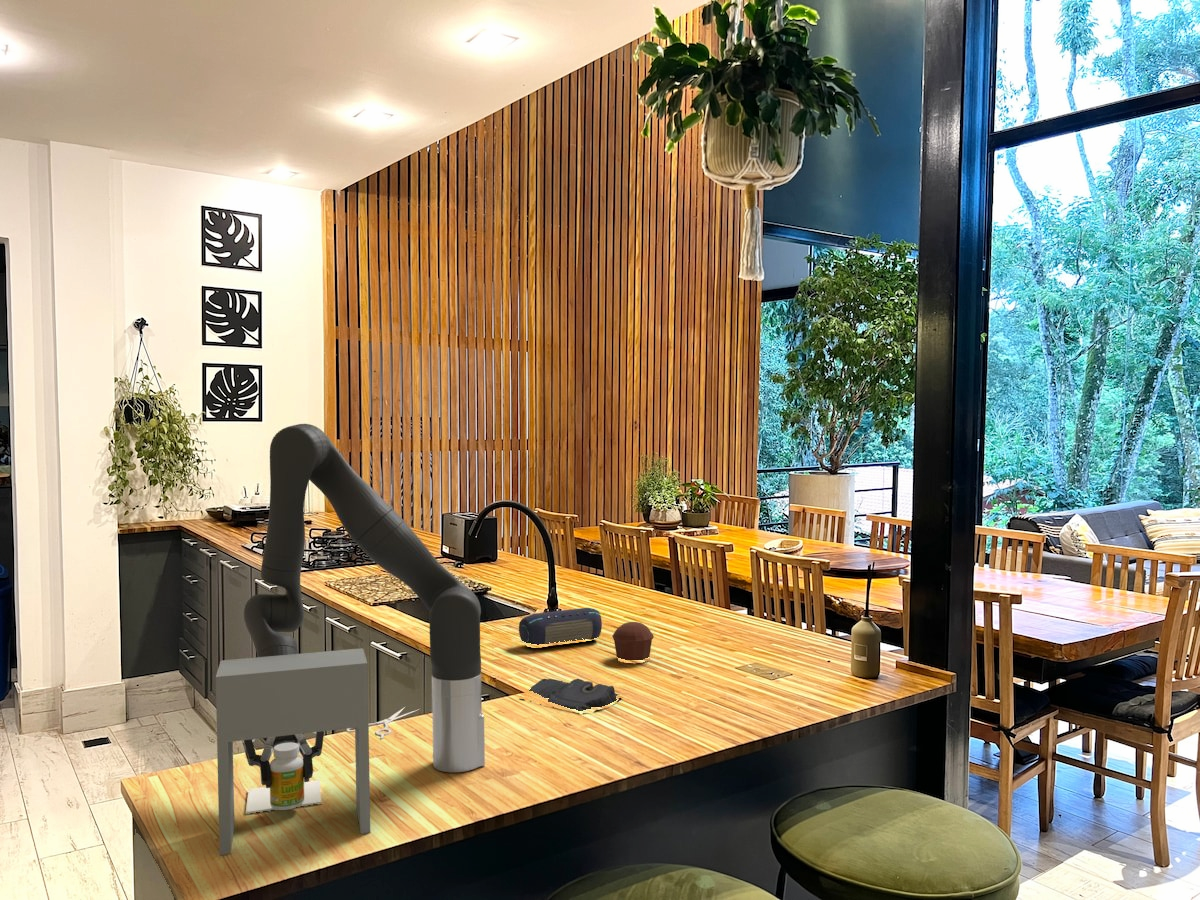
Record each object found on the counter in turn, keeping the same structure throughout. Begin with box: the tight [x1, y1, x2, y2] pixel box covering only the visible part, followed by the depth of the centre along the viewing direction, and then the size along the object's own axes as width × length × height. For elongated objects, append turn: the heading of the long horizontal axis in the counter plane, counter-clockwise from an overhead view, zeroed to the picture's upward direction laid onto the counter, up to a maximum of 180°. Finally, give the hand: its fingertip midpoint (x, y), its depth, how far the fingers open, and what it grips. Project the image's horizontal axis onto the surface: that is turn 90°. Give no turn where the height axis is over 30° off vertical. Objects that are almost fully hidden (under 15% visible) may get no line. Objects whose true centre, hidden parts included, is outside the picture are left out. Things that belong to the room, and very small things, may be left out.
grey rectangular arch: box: [215, 647, 371, 856], centre depth 144 cm, size 22×11×27 cm, turn 109°
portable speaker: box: [518, 607, 603, 645], centre depth 263 cm, size 25×10×10 cm, turn 118°
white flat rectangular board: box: [245, 779, 322, 815], centre depth 156 cm, size 12×10×1 cm
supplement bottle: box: [270, 742, 304, 811], centre depth 150 cm, size 5×5×10 cm
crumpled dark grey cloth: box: [528, 678, 619, 711], centre depth 210 cm, size 15×22×5 cm
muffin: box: [611, 621, 655, 660], centre depth 245 cm, size 12×11×10 cm
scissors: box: [346, 706, 420, 740], centre depth 196 cm, size 11×1×20 cm
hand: (288, 782), depth 149 cm, fingers closed on supplement bottle, 5 cm apart
